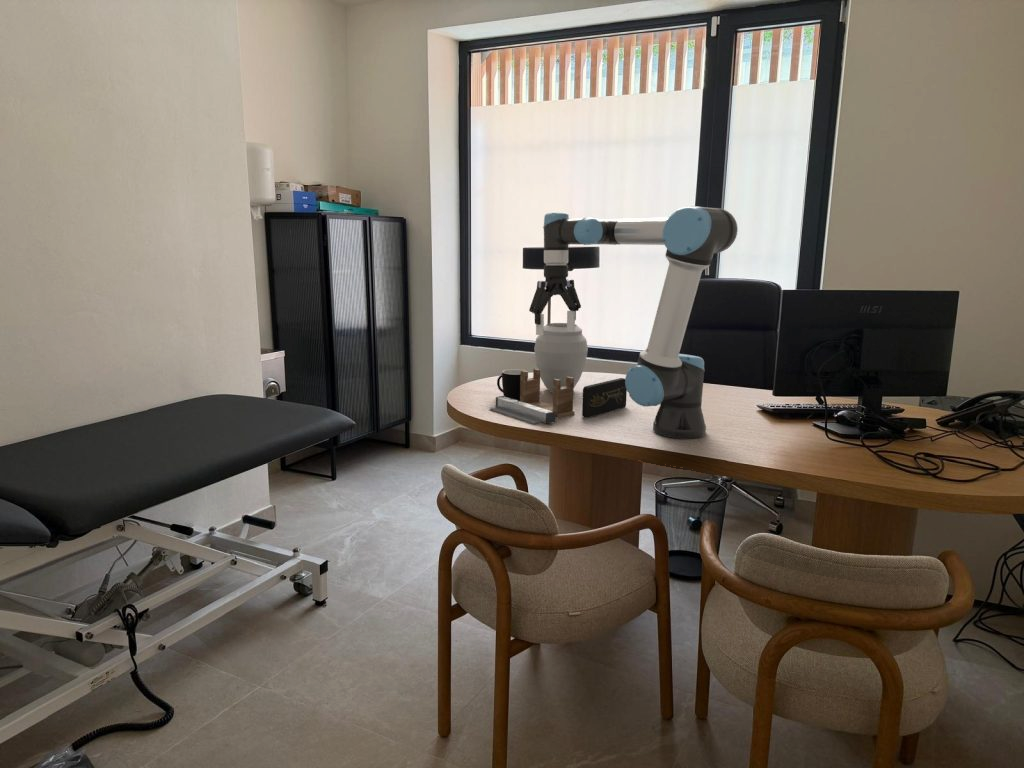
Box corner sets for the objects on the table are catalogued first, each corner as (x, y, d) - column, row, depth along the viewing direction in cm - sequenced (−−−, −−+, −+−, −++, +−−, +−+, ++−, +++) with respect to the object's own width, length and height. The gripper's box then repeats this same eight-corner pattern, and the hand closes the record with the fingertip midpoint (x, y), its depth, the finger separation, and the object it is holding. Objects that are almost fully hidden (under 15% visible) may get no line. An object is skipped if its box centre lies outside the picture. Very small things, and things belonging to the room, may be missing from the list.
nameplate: (621, 406, 233) (622, 377, 231) (625, 407, 232) (627, 378, 230) (581, 417, 219) (582, 386, 216) (586, 418, 217) (587, 387, 215)
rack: (574, 415, 221) (575, 378, 218) (559, 418, 217) (560, 380, 214) (533, 402, 236) (534, 368, 233) (518, 405, 232) (519, 370, 229)
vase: (554, 382, 268) (556, 320, 262) (596, 390, 255) (599, 325, 250) (522, 391, 253) (523, 324, 248) (565, 399, 241) (567, 330, 236)
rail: (555, 422, 211) (555, 411, 210) (547, 423, 209) (547, 413, 208) (503, 405, 230) (503, 395, 229) (495, 406, 228) (495, 397, 227)
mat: (556, 420, 215) (556, 418, 215) (534, 424, 209) (534, 422, 209) (511, 406, 231) (511, 404, 231) (490, 410, 226) (490, 408, 226)
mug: (532, 400, 240) (533, 371, 238) (517, 405, 233) (517, 375, 231) (505, 394, 247) (505, 367, 245) (489, 399, 240) (489, 370, 238)
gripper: (575, 263, 224) (574, 328, 228) (517, 265, 208) (517, 335, 212) (592, 263, 218) (591, 330, 222) (534, 265, 202) (534, 337, 206)
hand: (555, 333), depth 217 cm, fingers open, 13 cm apart
